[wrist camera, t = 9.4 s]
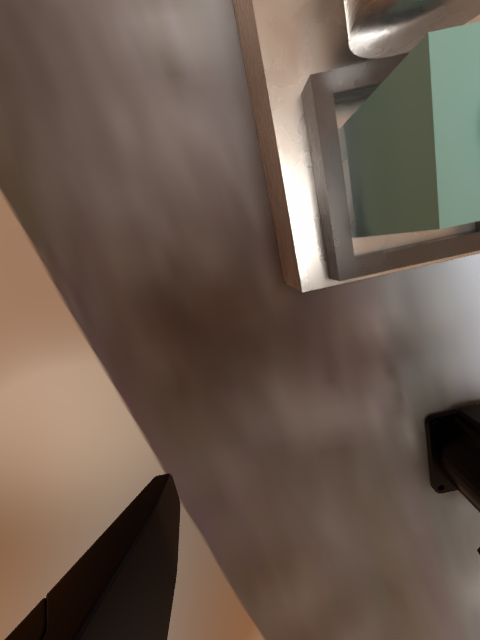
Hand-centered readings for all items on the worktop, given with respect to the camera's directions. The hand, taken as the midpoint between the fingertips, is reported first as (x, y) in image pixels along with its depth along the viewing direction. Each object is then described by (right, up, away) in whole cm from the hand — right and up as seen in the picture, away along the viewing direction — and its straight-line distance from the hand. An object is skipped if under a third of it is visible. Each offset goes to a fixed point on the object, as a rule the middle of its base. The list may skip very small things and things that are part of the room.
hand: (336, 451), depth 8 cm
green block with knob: (+5, +10, +6) cm, 13 cm away
